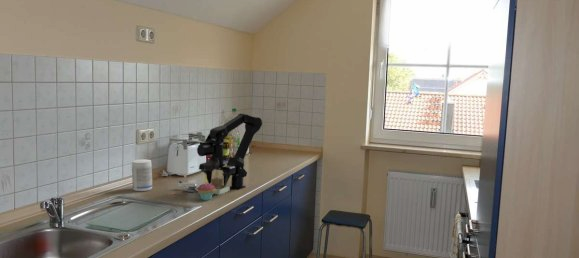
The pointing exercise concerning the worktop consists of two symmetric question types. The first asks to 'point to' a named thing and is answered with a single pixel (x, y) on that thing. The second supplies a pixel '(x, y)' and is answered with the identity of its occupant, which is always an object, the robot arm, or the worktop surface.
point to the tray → (222, 190)
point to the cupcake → (206, 190)
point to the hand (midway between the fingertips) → (217, 184)
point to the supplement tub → (142, 175)
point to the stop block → (217, 183)
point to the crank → (187, 184)
